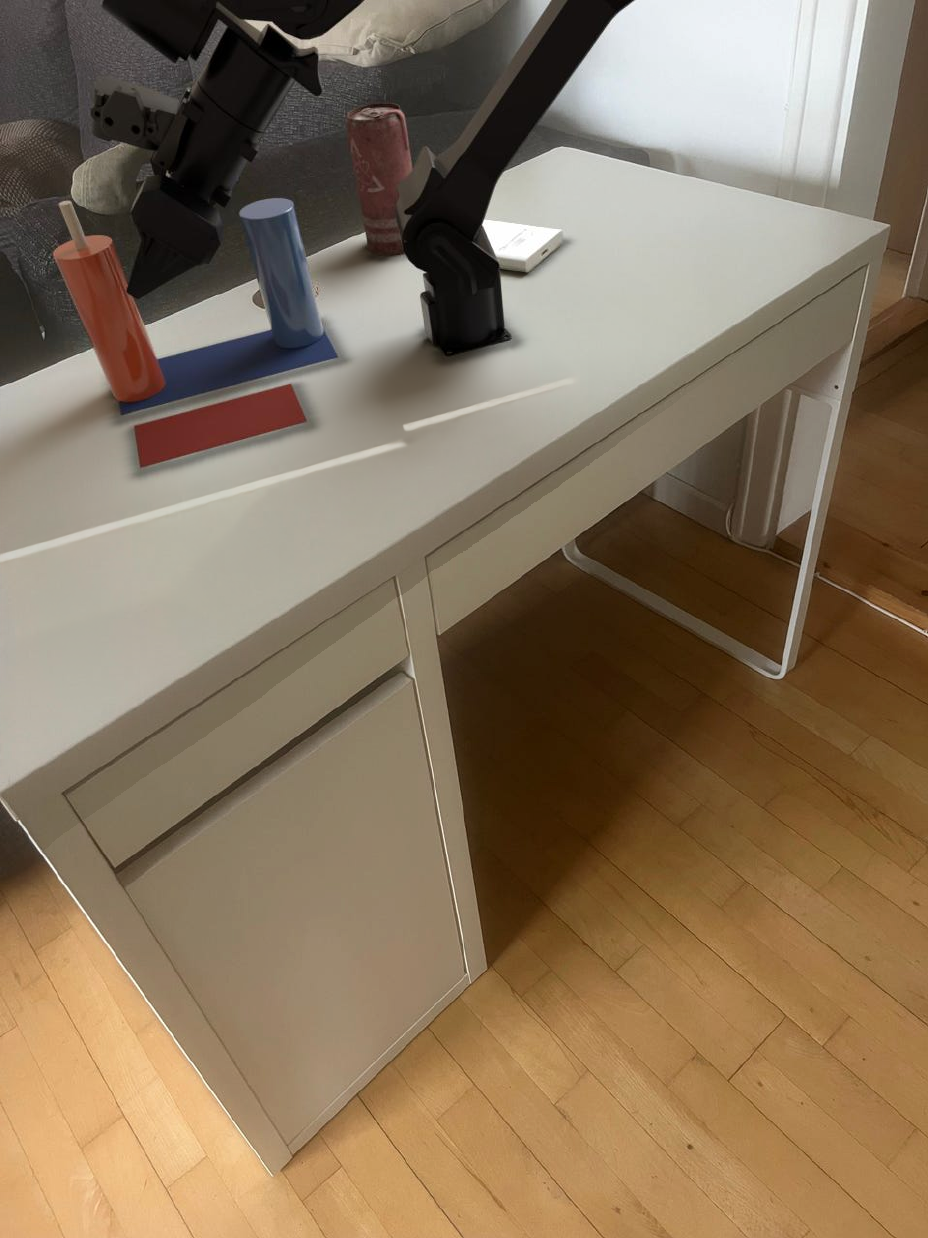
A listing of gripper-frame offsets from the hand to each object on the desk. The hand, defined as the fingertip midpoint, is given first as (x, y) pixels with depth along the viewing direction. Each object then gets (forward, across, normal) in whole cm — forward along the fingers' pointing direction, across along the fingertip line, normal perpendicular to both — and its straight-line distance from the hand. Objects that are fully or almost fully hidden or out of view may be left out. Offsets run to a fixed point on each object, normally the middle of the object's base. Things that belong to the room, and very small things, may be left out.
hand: (139, 271), depth 76 cm
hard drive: (-15, -18, +31) cm, 39 cm away
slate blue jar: (-1, -5, +15) cm, 16 cm away
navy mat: (+5, -2, +10) cm, 12 cm away
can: (-8, -24, +23) cm, 34 cm away
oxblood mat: (+5, +9, +11) cm, 14 cm away
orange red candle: (+10, 0, +5) cm, 11 cm away
